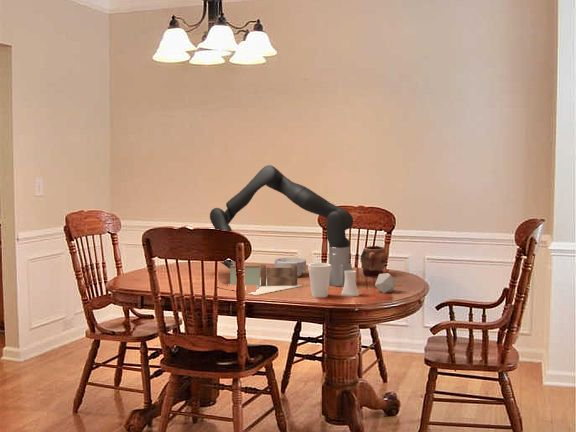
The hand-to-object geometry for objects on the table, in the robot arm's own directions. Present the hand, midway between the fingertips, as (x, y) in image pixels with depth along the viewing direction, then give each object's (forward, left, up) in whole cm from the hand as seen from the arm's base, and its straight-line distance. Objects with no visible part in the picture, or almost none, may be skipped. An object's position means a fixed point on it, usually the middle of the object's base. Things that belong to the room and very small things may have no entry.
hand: (238, 274), depth 312 cm
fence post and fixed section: (-16, -9, -4) cm, 19 cm away
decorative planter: (-32, -58, -5) cm, 66 cm away
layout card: (-11, -3, -5) cm, 12 cm away
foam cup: (-44, -7, -5) cm, 44 cm away
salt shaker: (-52, -17, -5) cm, 54 cm away
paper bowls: (-2, -32, -5) cm, 32 cm away
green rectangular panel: (-6, +1, -4) cm, 7 cm away
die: (-59, -32, -5) cm, 67 cm away
